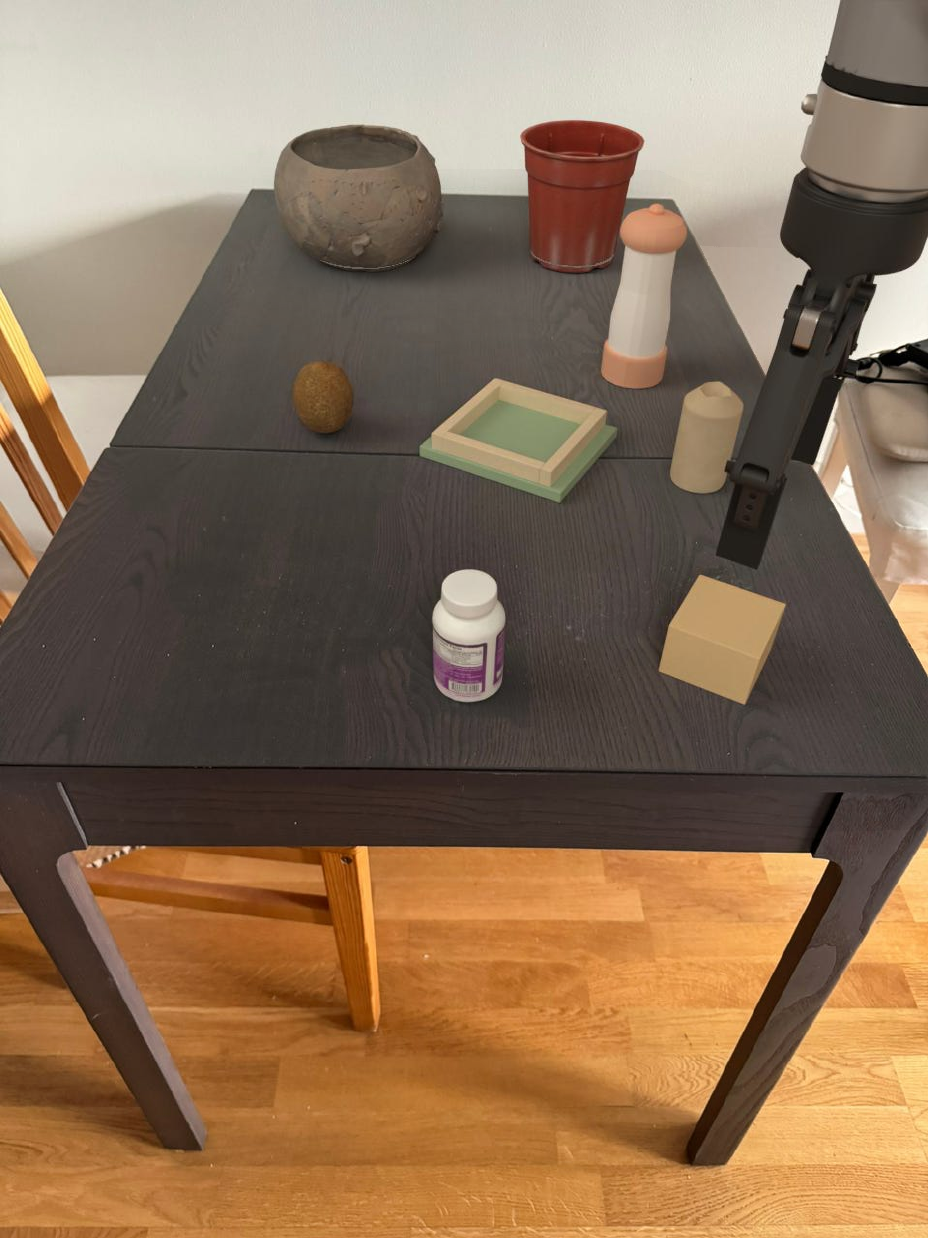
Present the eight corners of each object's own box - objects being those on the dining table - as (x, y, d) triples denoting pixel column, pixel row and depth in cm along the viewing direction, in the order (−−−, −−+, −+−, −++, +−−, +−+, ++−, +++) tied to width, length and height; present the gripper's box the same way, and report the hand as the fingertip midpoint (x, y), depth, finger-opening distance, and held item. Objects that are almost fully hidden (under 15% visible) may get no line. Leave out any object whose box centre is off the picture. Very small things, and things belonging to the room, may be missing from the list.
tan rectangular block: (770, 649, 75) (786, 603, 72) (744, 705, 71) (759, 659, 67) (688, 619, 78) (699, 574, 74) (658, 671, 73) (668, 625, 70)
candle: (729, 494, 91) (752, 404, 84) (673, 493, 91) (692, 402, 84) (719, 463, 95) (740, 374, 88) (665, 462, 95) (682, 373, 88)
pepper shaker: (675, 379, 108) (707, 209, 95) (626, 394, 105) (652, 221, 92) (636, 353, 113) (661, 188, 100) (588, 367, 110) (607, 199, 97)
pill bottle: (468, 645, 75) (470, 552, 68) (516, 680, 72) (523, 586, 66) (418, 679, 72) (416, 585, 66) (466, 716, 69) (469, 622, 63)
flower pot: (555, 289, 126) (566, 163, 115) (492, 248, 137) (497, 129, 126) (651, 266, 133) (669, 145, 122) (584, 229, 143) (595, 114, 132)
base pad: (616, 437, 99) (620, 412, 97) (559, 503, 90) (562, 477, 88) (485, 397, 104) (485, 373, 102) (419, 456, 95) (418, 430, 93)
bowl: (257, 276, 128) (241, 160, 118) (312, 218, 144) (302, 112, 134) (418, 294, 125) (416, 175, 114) (457, 232, 141) (458, 124, 131)
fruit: (342, 451, 96) (336, 381, 90) (287, 441, 97) (278, 371, 92) (364, 421, 100) (360, 352, 95) (311, 412, 102) (304, 343, 96)
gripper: (852, 108, 58) (767, 408, 72) (724, 238, 42) (649, 589, 57) (979, 129, 55) (865, 436, 70) (894, 276, 39) (769, 634, 54)
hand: (768, 505), depth 63 cm, fingers open, 13 cm apart
